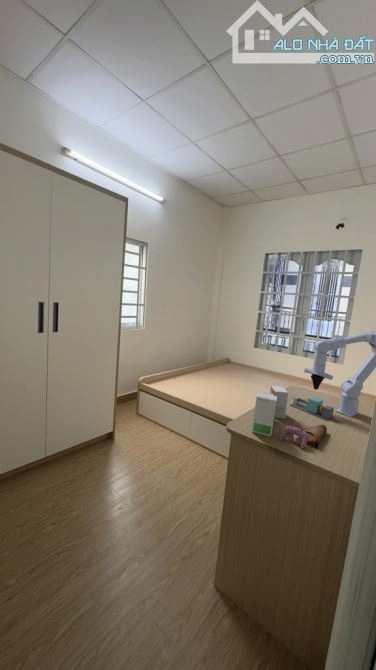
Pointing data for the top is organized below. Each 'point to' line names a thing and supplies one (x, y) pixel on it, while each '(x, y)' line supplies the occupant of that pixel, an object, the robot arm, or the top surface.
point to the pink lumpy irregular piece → (296, 431)
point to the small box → (280, 400)
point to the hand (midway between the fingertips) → (315, 389)
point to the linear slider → (326, 410)
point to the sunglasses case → (315, 435)
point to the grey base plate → (304, 407)
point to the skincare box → (264, 414)
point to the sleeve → (314, 404)
